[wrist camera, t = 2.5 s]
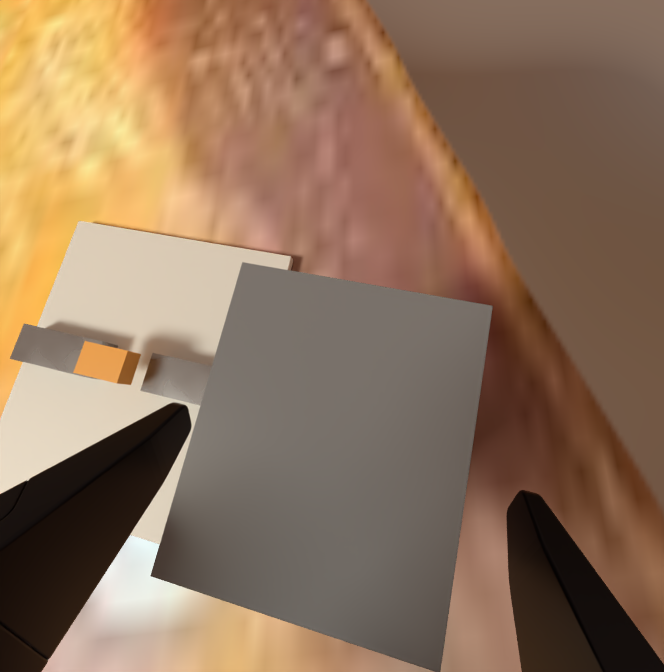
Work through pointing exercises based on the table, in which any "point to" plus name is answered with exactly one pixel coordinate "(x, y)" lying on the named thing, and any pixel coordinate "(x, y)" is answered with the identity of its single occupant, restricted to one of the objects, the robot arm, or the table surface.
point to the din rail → (65, 348)
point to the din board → (121, 345)
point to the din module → (333, 460)
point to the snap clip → (107, 363)
